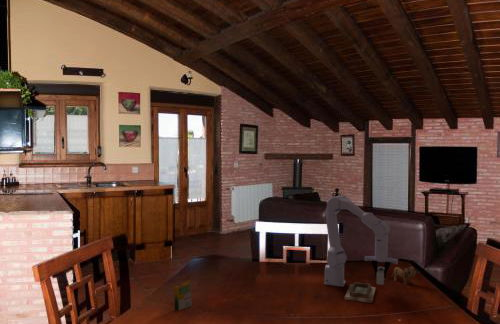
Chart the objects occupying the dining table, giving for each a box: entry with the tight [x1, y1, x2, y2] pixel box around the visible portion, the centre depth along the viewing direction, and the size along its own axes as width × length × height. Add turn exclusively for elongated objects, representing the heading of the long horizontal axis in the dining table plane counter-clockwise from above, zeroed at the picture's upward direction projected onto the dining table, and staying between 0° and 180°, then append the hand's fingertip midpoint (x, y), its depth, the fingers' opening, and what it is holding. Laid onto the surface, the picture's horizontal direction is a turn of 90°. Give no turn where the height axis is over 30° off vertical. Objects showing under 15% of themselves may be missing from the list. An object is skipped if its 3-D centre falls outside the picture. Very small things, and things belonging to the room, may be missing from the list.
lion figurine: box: [389, 266, 417, 286], centre depth 215 cm, size 15×5×9 cm, turn 36°
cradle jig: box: [344, 281, 377, 304], centre depth 197 cm, size 12×18×3 cm, turn 159°
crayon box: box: [173, 279, 192, 312], centre depth 180 cm, size 7×3×12 cm, turn 141°
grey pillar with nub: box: [376, 266, 385, 286], centre depth 195 cm, size 3×10×6 cm, turn 159°
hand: (380, 277), depth 196 cm, fingers closed on grey pillar with nub, 3 cm apart
